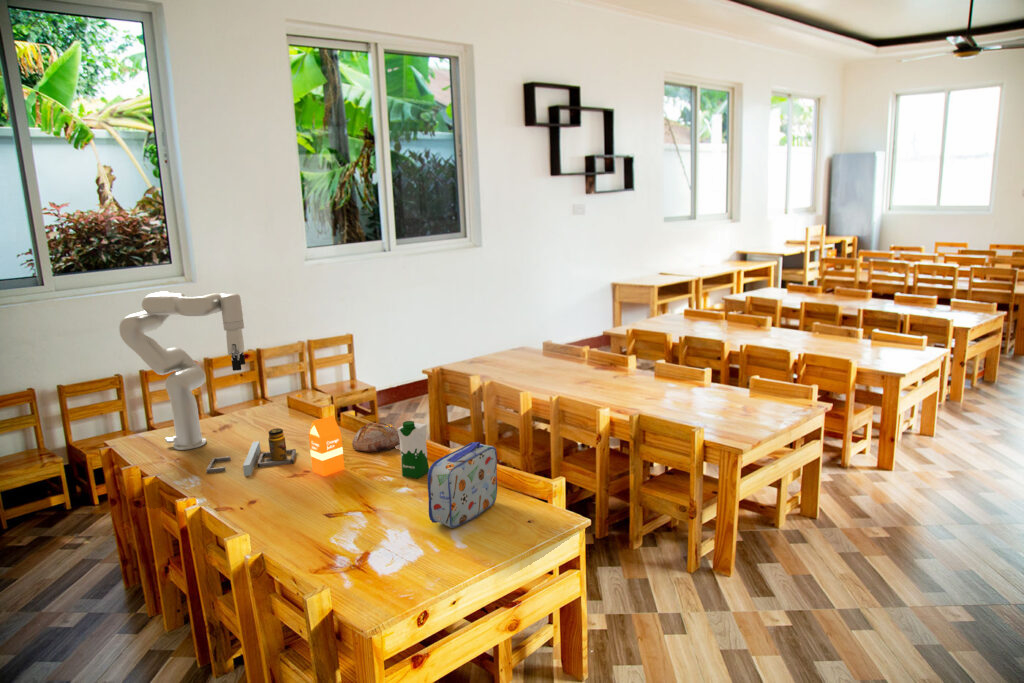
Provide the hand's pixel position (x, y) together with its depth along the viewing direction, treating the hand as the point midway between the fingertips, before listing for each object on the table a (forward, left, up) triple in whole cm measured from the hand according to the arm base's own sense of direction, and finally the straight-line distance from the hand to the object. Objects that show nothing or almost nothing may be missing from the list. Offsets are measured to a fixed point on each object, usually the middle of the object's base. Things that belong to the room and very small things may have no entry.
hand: (239, 367), depth 285 cm
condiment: (+13, -20, -34) cm, 41 cm away
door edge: (+4, -20, -33) cm, 39 cm away
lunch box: (+77, -88, -34) cm, 122 cm away
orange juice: (+33, -37, -34) cm, 60 cm away
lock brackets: (+4, -20, -33) cm, 39 cm away
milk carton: (+64, -51, -34) cm, 88 cm away
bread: (+51, -17, -34) cm, 64 cm away
